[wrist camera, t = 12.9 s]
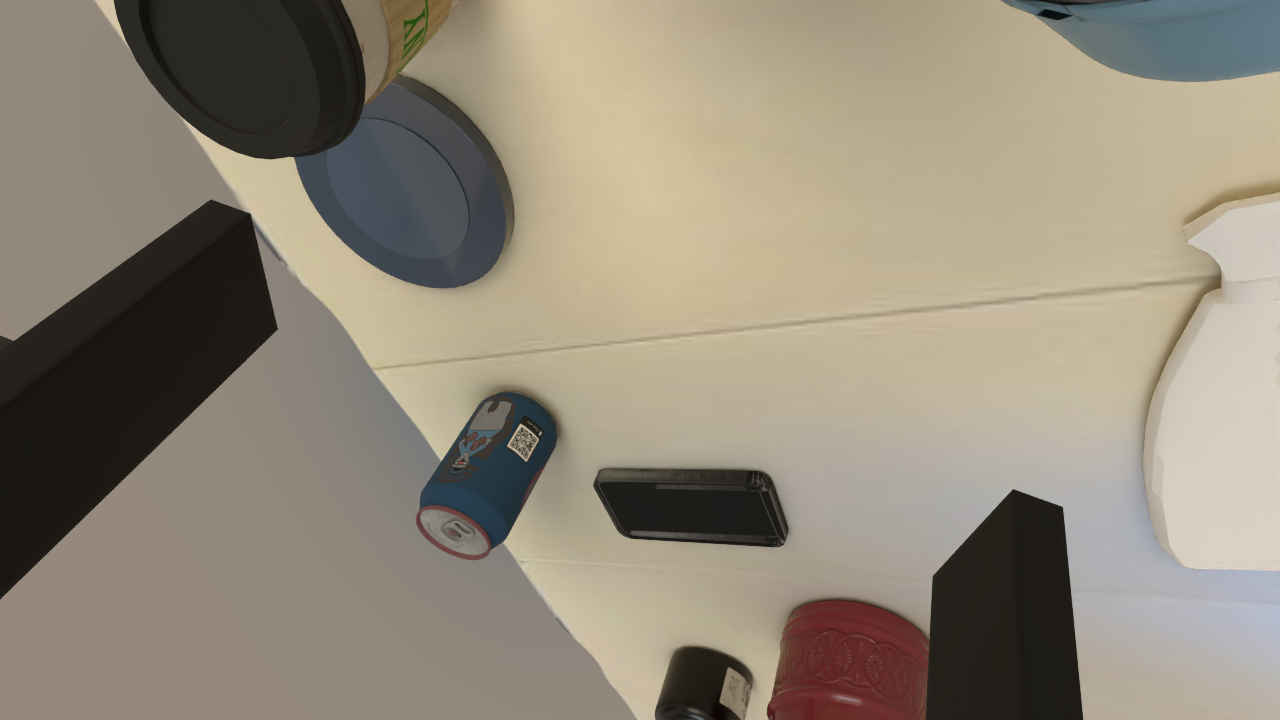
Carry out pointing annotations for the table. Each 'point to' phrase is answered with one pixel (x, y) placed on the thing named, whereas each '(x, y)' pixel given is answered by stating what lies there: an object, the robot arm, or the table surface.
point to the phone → (693, 506)
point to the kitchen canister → (850, 665)
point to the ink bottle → (703, 688)
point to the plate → (414, 189)
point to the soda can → (487, 475)
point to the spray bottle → (1223, 403)
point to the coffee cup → (276, 64)
